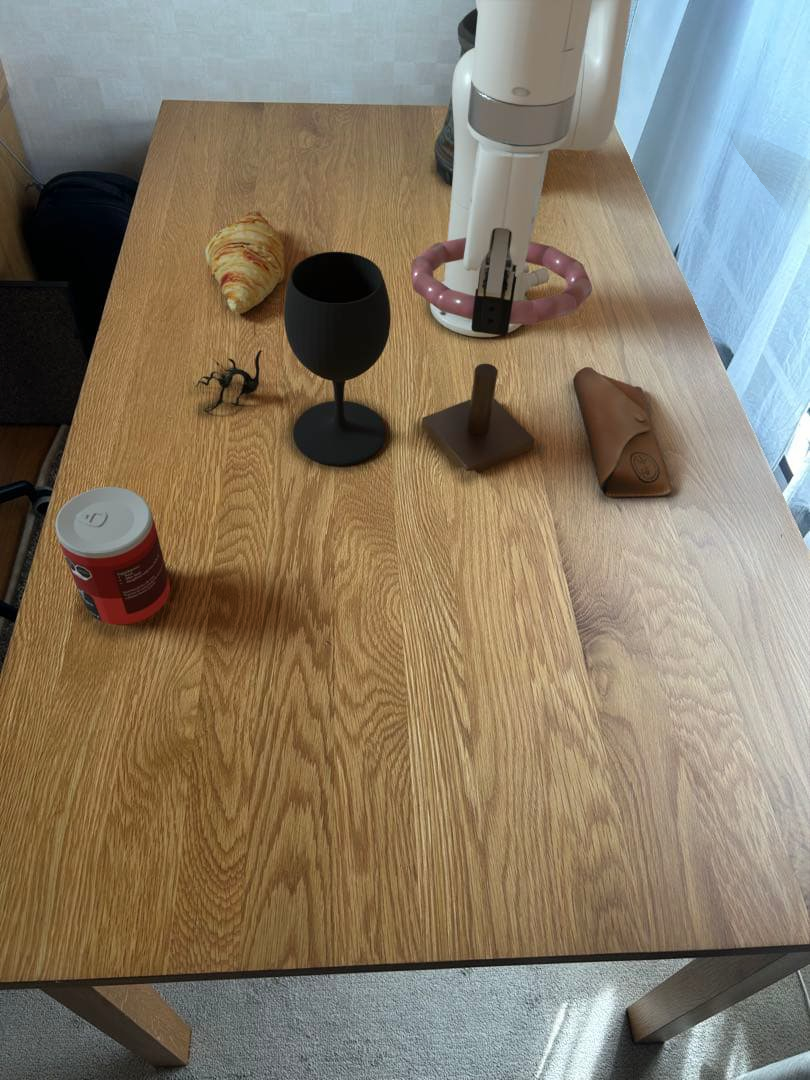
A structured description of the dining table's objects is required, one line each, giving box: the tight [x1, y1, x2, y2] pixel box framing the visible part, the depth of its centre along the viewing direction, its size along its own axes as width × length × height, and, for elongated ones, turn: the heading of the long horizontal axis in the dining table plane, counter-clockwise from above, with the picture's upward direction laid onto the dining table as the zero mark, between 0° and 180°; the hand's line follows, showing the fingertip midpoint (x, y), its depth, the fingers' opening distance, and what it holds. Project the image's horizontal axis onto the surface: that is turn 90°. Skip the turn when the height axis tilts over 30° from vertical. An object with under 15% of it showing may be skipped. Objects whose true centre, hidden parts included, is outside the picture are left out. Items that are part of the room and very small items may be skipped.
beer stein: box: [433, 7, 478, 187], centre depth 130 cm, size 16×19×25 cm
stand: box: [421, 363, 536, 473], centre depth 97 cm, size 9×9×10 cm
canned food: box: [54, 486, 171, 626], centre depth 80 cm, size 8×8×11 cm
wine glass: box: [283, 251, 392, 467], centre depth 92 cm, size 10×10×20 cm
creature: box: [195, 349, 263, 413], centre depth 101 cm, size 8×5×8 cm
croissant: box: [204, 211, 285, 315], centre depth 117 cm, size 21×10×8 cm, turn 1°
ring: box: [410, 237, 593, 326], centre depth 84 cm, size 17×17×2 cm
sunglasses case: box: [572, 366, 673, 499], centre depth 100 cm, size 18×7×7 cm, turn 3°
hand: (491, 319), depth 79 cm, fingers closed on ring, 2 cm apart
